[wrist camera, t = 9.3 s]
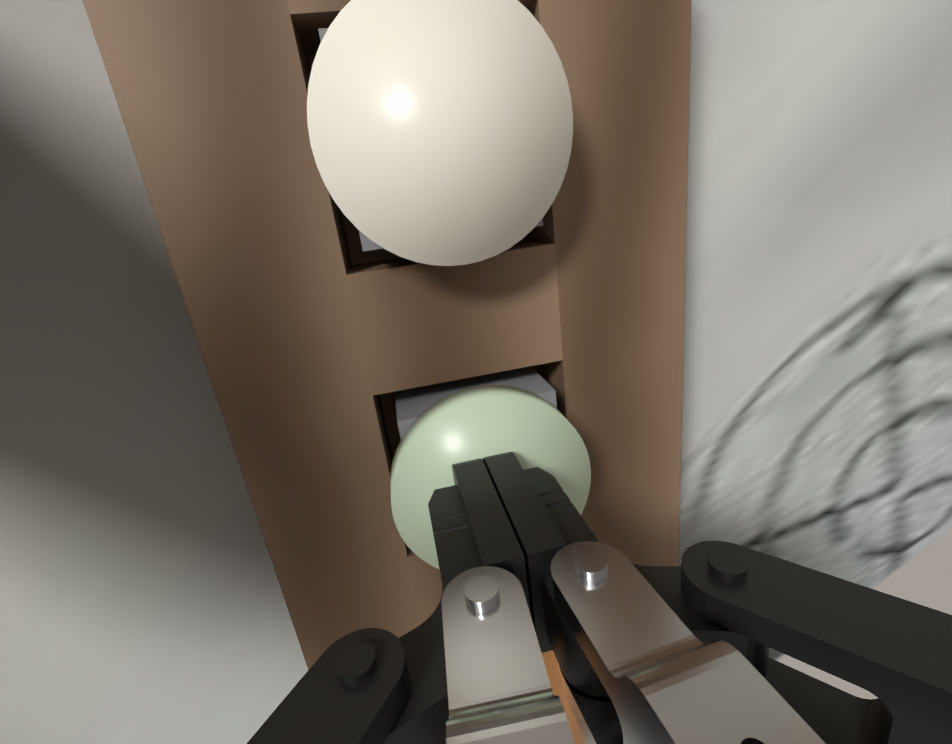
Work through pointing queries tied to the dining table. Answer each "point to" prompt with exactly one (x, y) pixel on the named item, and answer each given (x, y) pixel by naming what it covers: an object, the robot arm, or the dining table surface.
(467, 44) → the button cream
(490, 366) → the console
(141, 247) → the dining table surface
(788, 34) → the dining table surface
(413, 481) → the button sage
